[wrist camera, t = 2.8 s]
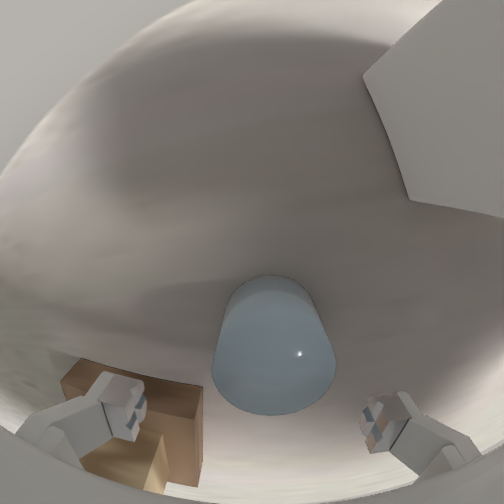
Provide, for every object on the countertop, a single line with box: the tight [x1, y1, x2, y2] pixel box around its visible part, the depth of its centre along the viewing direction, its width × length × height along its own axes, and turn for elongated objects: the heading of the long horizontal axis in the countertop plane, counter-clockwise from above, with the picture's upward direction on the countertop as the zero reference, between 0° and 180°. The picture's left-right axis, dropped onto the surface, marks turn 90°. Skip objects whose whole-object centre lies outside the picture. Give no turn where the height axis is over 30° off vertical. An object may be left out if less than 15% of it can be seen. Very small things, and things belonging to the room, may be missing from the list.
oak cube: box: [79, 428, 170, 495], centre depth 12 cm, size 5×5×5 cm
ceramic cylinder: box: [212, 275, 336, 416], centre depth 13 cm, size 5×5×5 cm
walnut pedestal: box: [60, 358, 203, 487], centre depth 16 cm, size 9×9×3 cm
